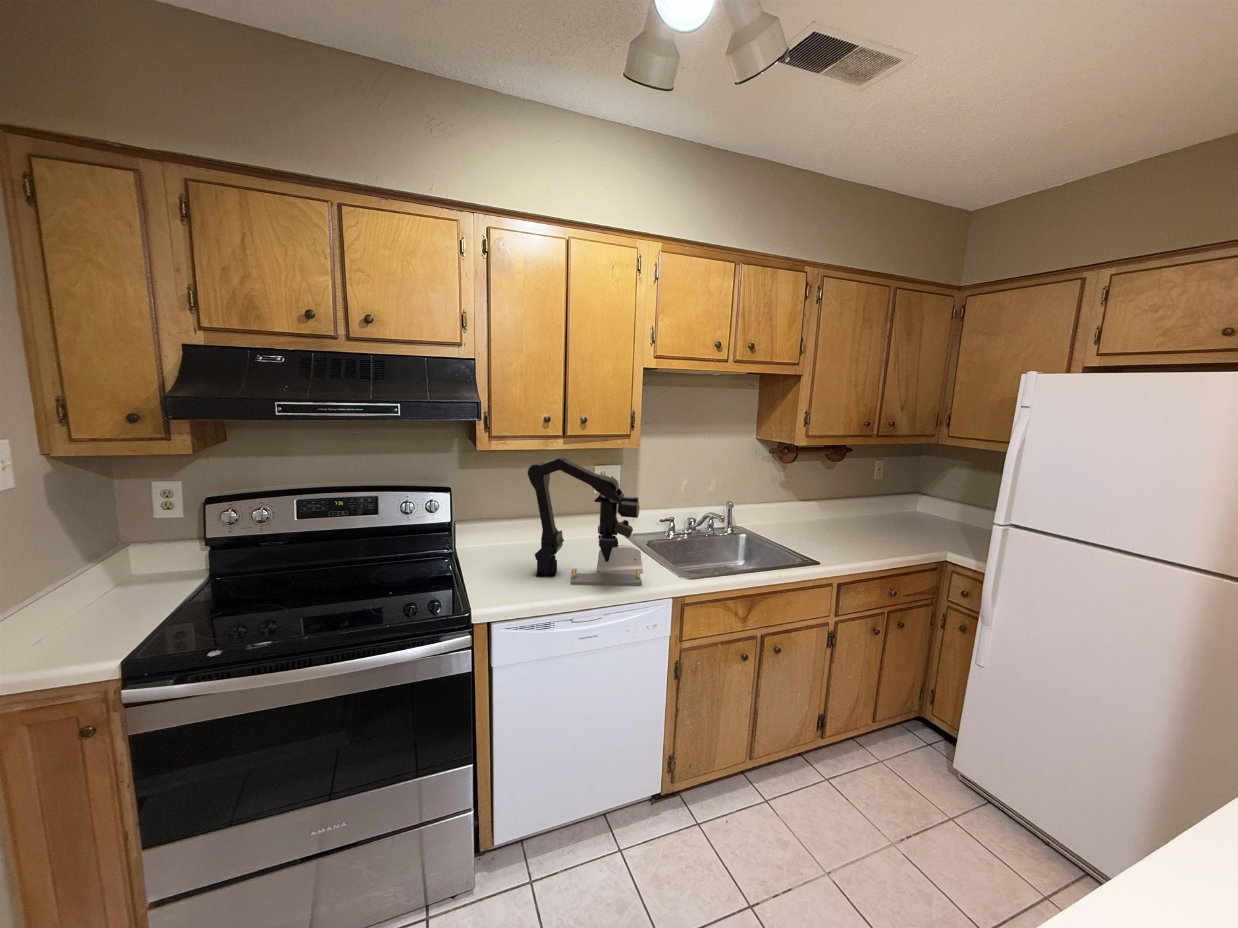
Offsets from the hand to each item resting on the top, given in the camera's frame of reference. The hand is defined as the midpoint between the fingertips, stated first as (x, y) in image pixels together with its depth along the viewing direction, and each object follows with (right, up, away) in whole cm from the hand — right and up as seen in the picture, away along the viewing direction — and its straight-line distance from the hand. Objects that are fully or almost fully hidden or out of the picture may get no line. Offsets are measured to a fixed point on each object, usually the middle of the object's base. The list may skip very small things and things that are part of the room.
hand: (606, 559), depth 173 cm
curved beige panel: (+5, -7, +10) cm, 13 cm away
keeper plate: (0, -8, +1) cm, 8 cm away
